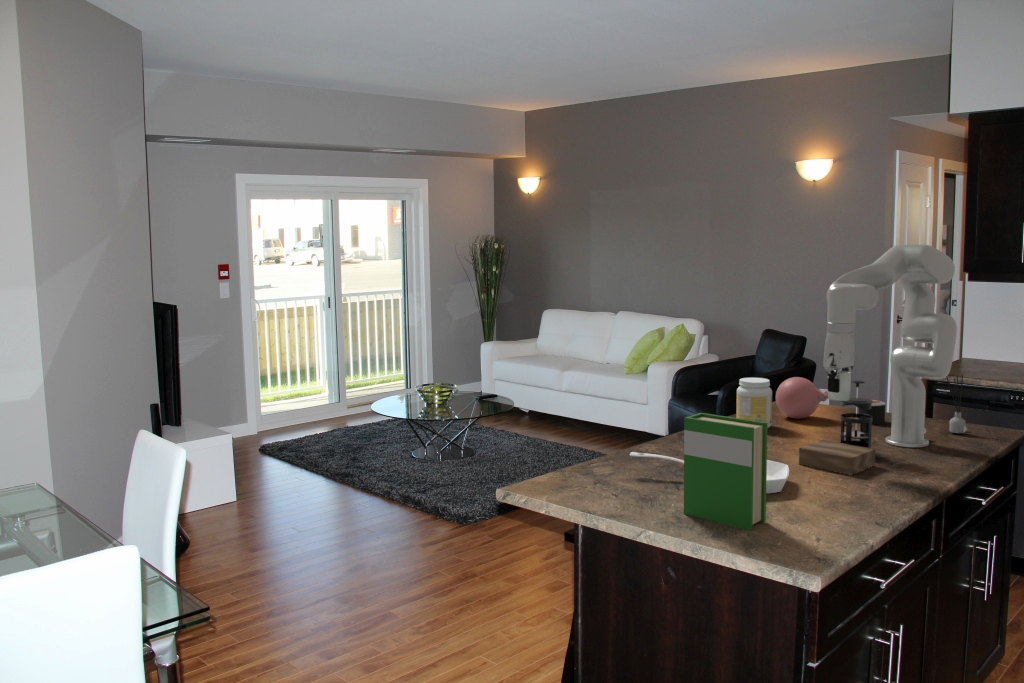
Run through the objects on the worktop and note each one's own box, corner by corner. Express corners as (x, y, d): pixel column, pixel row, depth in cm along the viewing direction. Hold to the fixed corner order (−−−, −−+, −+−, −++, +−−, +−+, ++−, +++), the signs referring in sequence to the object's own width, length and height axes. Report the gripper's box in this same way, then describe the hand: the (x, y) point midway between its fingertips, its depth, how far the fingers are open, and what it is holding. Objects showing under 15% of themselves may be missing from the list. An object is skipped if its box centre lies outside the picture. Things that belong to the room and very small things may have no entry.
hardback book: (765, 522, 190) (767, 422, 187) (750, 530, 185) (752, 428, 182) (699, 506, 202) (700, 412, 199) (683, 514, 197) (684, 417, 194)
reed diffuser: (960, 437, 266) (963, 377, 264) (938, 434, 271) (940, 375, 269) (970, 431, 273) (973, 373, 271) (948, 428, 278) (951, 371, 276)
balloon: (821, 426, 286) (822, 383, 284) (767, 418, 299) (768, 378, 298) (838, 419, 297) (839, 377, 295) (786, 412, 310) (787, 372, 309)
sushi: (889, 423, 288) (890, 401, 287) (868, 425, 286) (869, 403, 285) (874, 419, 296) (875, 397, 295) (854, 420, 294) (855, 399, 293)
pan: (787, 503, 204) (788, 477, 203) (620, 488, 219) (619, 464, 218) (790, 473, 230) (790, 451, 229) (639, 462, 244) (639, 441, 244)
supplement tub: (747, 421, 296) (748, 375, 294) (778, 426, 287) (779, 379, 285) (729, 426, 288) (729, 380, 286) (760, 432, 279) (760, 384, 277)
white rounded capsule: (834, 396, 238) (835, 369, 237) (854, 398, 234) (854, 371, 233) (824, 398, 234) (824, 371, 233) (843, 401, 230) (844, 374, 229)
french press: (861, 460, 241) (863, 384, 238) (831, 454, 248) (833, 380, 245) (880, 453, 248) (883, 379, 246) (851, 448, 256) (853, 376, 253)
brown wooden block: (822, 455, 247) (823, 439, 246) (874, 465, 235) (875, 449, 234) (798, 464, 238) (799, 448, 237) (851, 475, 226) (851, 458, 225)
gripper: (843, 325, 240) (841, 385, 242) (813, 330, 229) (811, 392, 231) (867, 327, 234) (865, 388, 236) (838, 332, 223) (836, 396, 225)
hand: (839, 389), depth 234 cm, fingers closed on white rounded capsule, 6 cm apart
